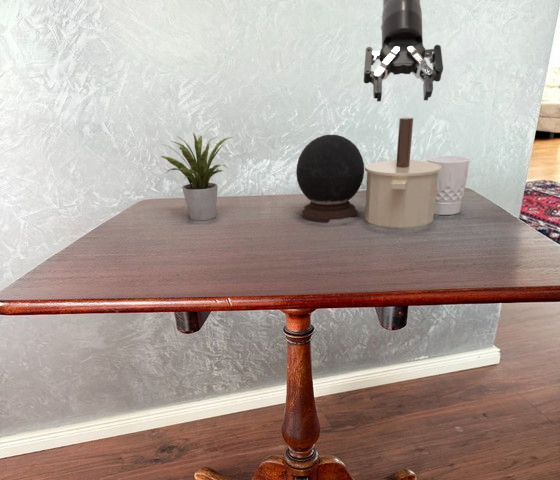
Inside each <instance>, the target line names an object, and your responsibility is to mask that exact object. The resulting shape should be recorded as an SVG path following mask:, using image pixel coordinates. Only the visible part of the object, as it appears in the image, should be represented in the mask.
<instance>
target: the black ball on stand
mask: <svg viewBox="0 0 560 480" xmlns="http://www.w3.org/2000/svg"><path fill="white" fill-rule="evenodd" d="M364 176H365V163H364V159H363V156H362V154H361V151H360V150H359V148H358V147H357V146H356V144H355V143H353V142H352V141H351V140H350V139H348V138H346V137H344V136H342V135H340V134H325V135H321V136H318V137H316V138H314V139H313V140H311V141H310V142H309V143H308V144H307V145H305V147H304V148H303V149H302V151H301V152H300V155H299V157H298V160H297V163H296V181H297V184H298V187H299V189H300V191H301V192H302V194H303V195H304V196H305V197H306V198H307V199H308V200H309V201H310V202H309V203H308V204H306V205H305V206H304V208H303V210H301V217H302V218H303V219H304V220H307V221H311V222H314V223H315V222H316V223H329V222H330V221H331V220H342V219H343V220H344V219H349V218H357V217H358V212H359V211H358V209H357V208H356V205H354V204H353V203H351V202H350V200H351V199H353V197H354V196H355V195H356V194H357V193H358V191H359V189H360V188H361V186H362V185H363V180H364Z"/></svg>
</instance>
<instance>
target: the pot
mask: <svg viewBox="0 0 560 480" xmlns="http://www.w3.org/2000/svg"><path fill="white" fill-rule="evenodd" d="M437 178H438V172H437V173H434V174H429V175H421V176H385V175H377V174H372V173H369V172H367V171H366V189H365V191H366V192H365V209H364V210H365V211H364V220H365V221H366V222H367V223H369V224H372V225H375V226H379V227H385V228H397V229H399V228H400V229H406V228H407V229H408V228H418V227H422V226H427V225H429V224H432V223H433V222H434V215H435V214H434V206H435V196H436V187H437Z"/></svg>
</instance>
